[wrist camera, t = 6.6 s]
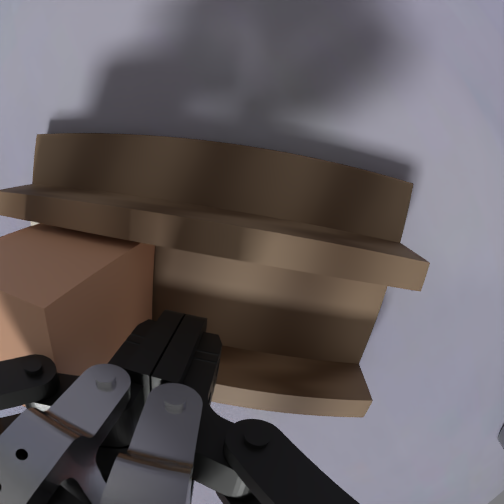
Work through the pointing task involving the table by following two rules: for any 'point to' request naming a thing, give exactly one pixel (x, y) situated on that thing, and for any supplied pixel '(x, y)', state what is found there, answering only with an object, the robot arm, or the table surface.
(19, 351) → the block
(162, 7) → the table surface
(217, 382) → the chute
